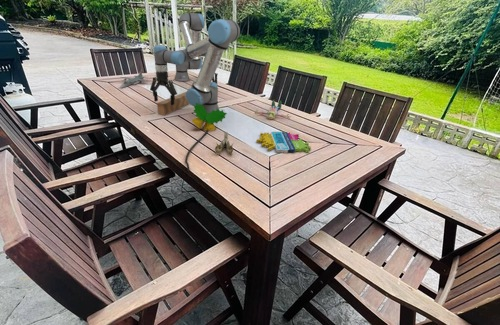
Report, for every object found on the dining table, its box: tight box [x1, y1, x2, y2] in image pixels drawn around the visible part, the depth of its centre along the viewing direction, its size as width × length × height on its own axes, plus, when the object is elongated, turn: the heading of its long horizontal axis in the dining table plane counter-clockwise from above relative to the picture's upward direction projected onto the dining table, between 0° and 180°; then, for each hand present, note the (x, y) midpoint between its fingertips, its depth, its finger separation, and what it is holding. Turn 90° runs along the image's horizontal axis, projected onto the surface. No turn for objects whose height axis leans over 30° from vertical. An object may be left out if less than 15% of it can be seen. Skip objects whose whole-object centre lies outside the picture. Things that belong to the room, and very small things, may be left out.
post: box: [156, 91, 190, 116], centre depth 211 cm, size 77×5×8 cm, turn 159°
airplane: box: [119, 68, 152, 89], centre depth 248 cm, size 38×31×10 cm
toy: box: [253, 99, 292, 120], centre depth 196 cm, size 28×7×30 cm
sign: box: [256, 131, 312, 154], centre depth 152 cm, size 26×2×30 cm
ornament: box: [191, 102, 228, 132], centre depth 162 cm, size 21×8×15 cm, turn 105°
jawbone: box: [214, 131, 234, 156], centre depth 136 cm, size 9×15×10 cm
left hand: (210, 91), depth 240 cm, fingers closed on post, 5 cm apart
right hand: (164, 102), depth 182 cm, fingers open, 13 cm apart
